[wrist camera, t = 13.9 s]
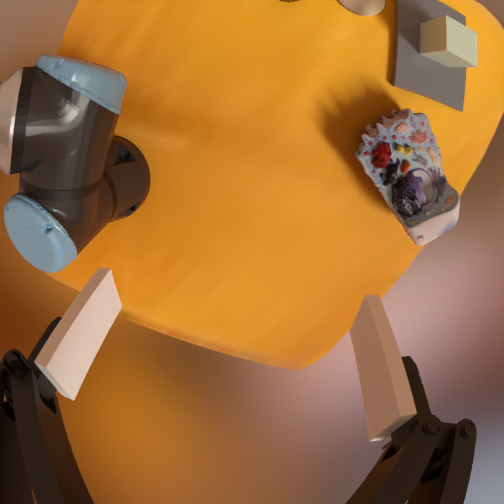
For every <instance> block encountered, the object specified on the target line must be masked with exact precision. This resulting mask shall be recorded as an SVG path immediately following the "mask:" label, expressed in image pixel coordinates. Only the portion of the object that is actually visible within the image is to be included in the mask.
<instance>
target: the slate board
mask: <svg viewBox="0 0 504 504" xmlns="http://www.w3.org/2000/svg"><path fill="white" fill-rule="evenodd" d="M445 15H447V16H448V17H450V18H452V19H454V20H456V21H457V22H459V23H461V24H463V25H464V26H466V20H465V16H464V15H462V14H461V13H459V12H457V11H456V10H454V9H452V8H450V7H448V6H447V5H445V4H443V3H441V2H439V1H437V0H395V52H394V67H393V79H392V86H395V87H398V88H401V89H404V90H407V91H410V92H413V93H416V94H419V95H421V96H424V97H427V98H429V99H432V100H434V101H437V102H439V103H442V104H444V105H446V106H449V107H451V108H453V109H455V110H457V111H461V112H462V111H463V103H464V93H465V81H466V67H447V66H445V65H443V64H441V63H439V62H437V61H434V60H432V59H430V58H428V57H425V56H423V55H421V54H420V23H423V22H426V21H429V20H432V19H435V18H438V17H441V16H445Z"/></svg>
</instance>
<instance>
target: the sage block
mask: <svg viewBox="0 0 504 504" xmlns="http://www.w3.org/2000/svg"><path fill="white" fill-rule="evenodd" d="M420 54H421V55H423V56H425V57H428V58H430V59H432V60H434V61H437V62H439V63H441V64H443V65H445V66H447V67H478V42H477V33H476V32H474V31H472V30H471V29H469V28H468V27H466V26H464V25H463V24H461V23H459V22H457V21H456V20H454V19H452V18H450V17H448V16H447V15H445V16H441V17H438V18H435V19H432V20H429V21H426V22H423V23H420Z"/></svg>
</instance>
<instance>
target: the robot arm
mask: <svg viewBox="0 0 504 504" xmlns="http://www.w3.org/2000/svg"><path fill="white" fill-rule="evenodd" d="M35 65H36V66H35V67H20V68H19V69H18V70H17V71H16V72H15V73H14V74H13V75H12V76H10V77H9V78H8V79H7V80H6V81H4V82H0V169H1V170H3V171H4V173H6V174H7V175H9V174H15V173H20V178H19V192H18V194H17V193H16V194H14V195H12V196H11V197H10V199H9V200H8V202H7V203H6V205H5V208H4V222H5V226H6V229H7V232H8V234H9V236H10V239H11V241H12V242H13V244H14V246H15V247H16V248H17V250H18V251H19V253H20V254H21V255H22V256H23V257H24V258H25V259H26V260H27V261H28V262H29V263H31V264H32V265H33V266H35V267H36V268H38V269H40V270H42V271H45V272H49V273H55V272H57V271H61V270H62V269H64V268H65V267H66V266H67V265H68V264H69V263H71V262H72V261H74V260H75V259H76V258H77V255H78V254H79V253H80V252H81V251H82V250H83V248H84V247H85V246H86V245H87V244H88V243H89V242H90V241H91V240H92V239H93V238H94V237H95V236H96V235H97V234H98V233H99V232H100V231H101V230H102V229H103V228H104V227H105V226H106V225H107V224H108V223H109V222H113V221H116V220H119V219H123V218H126V217H128V216H129V215H131V214H133V213H134V212H135V211H136V210H137V209H138V208H139V207H140V206H141V205H142V204H143V202H144V201H145V199H146V197H147V195H148V192H149V188H150V172H149V168H148V164H147V162H146V160H145V158H144V156H143V154H142V153H141V151H140V150H139V149H138V148H137V147H136V146H135V145H134V144H133V143H131V142H130V141H128V140H126V139H124V138H121V137H116V136H113V134H114V131H115V127H116V124H117V120H118V117H119V115H121V106H122V102H123V98H124V95H125V92H126V88H127V81H126V78H125V77H124V75H123V74H122V73H120V72H118V71H116V70H113V69H111V68H108V67H105V66H101V65H98V64H95V63H91V62H87V61H83V60H79V59H75V58H70V57H65V56H59V55H52V54H42V55H41V56H40V57H39V58H38V60H37V61H36V64H35ZM121 308H122V305H121V302H120V299H119V296H118V292H117V289H116V286H115V283H114V279H113V276H112V272H111V269H107V268H100V267H99V269H98V270H97V271H96V272H95V274H94V275H93V276H92V277H91V279H90V280H89V281H88V283H87V284H86V285H85V287H84V288H83V289H82V291H81V292H80V293H79V295H78V296H77V297H76V299H75V300H74V302H73V303H72V304H71V306H70V307H69V309H68V310H67V311H66V313H65V314H64V316H63V317H57V318H56V319H55V320H54V321H52V322H51V323H50V325H49V326H48V328H47V329H46V332H44V334H43V335H42V338H40V340H39V342H38V343H37V345H36V346H35V348H34V349H33V351H32V353H31V354H30V356H29V358H28V359H27V360H26V358H25V357H24V356H23V354H22V353H21V352H20V351H19V350H17V349H12V350H10V351H8V352H7V353H6V354H5V355H4V357H3V359H2V362H1V361H0V504H34V501H33V495H32V489H33V492H34V495H35V498H36V500H37V503H38V504H94V502H93V500H92V498H91V496H90V494H89V492H88V490H87V487H86V485H85V483H84V480H83V478H82V476H81V473H80V471H79V468H78V466H77V463H76V460H75V458H74V455H73V452H72V449H71V446H70V443H69V440H68V437H67V434H66V430H65V427H64V423H63V420H62V416H61V412H60V408H59V404H58V399H57V396H56V394H55V391H56V390H58V391H59V392H60V393H61V394H62V395H63V396H65V397H67V398H69V399H72V400H74V399H75V397H76V395H77V393H78V391H79V388H80V386H81V384H82V382H83V380H84V378H85V376H86V374H87V372H88V370H89V368H90V365H91V363H92V361H93V360H94V358H95V356H96V354H97V352H98V350H99V348H100V346H101V344H102V342H103V340H104V338H105V337H106V335H107V333H108V331H109V329H110V327H111V325H112V324H113V322H114V320H115V318H116V317H117V315H118V313H119V311H120V310H121ZM350 334H351V339H352V343H353V348H354V352H355V358H356V362H357V368H358V373H359V378H360V384H361V389H362V395H363V401H364V407H365V414H366V421H367V428H368V435H369V441H377V440H383V439H386V438H387V437H388V436H390V435H391V438H392V440H391V441H390V442H388V443H387V444H386V445H384V447H382V449H385V448H386V449H385V451H384V452H383V454H382V456H381V457H380V458H379V460H378V461H377V463H376V464H375V466H374V467H373V469H372V470H371V472H370V473H369V474H368V476H367V477H366V478H365V480H364V481H363V483H362V484H361V485H360V486H359V488H358V489H357V490H356V492H355V493H354V494H353V495H352V497H351V498H350V499H349V500H348V501H347V503H346V504H405V503H406V502H407V500H408V502H407V504H463V503H464V499H465V495H466V492H467V488H468V483H469V478H470V474H471V469H472V463H473V457H474V450H475V442H476V433H477V432H476V427H475V424H474V423H473V422H472V421H471V420H469V419H463V420H461V421H459V422H458V423H457V424H452V423H444V422H441V421H440V420H439V418H437V417H436V416H435V415H432V414H431V411H430V408H429V405H428V401H427V397H426V394H425V391H424V387H423V384H422V381H421V378H420V376H419V371H418V368H417V366H416V364H415V362H414V361H413V360H412V359H411V357H410V356H406V357H401V355H400V352H399V350H398V346H397V343H396V340H395V337H394V334H393V332H392V329H391V326H390V324H389V321H388V318H387V315H386V313H385V310H384V307H383V305H382V302H381V300H380V297H379V295H365V297H364V299H363V302H362V304H361V307H360V309H359V311H358V314H357V316H356V318H355V321H354V323H353V325H352V328H351V330H350ZM4 396H5V397H6V401H5V402H4V401H3V398H4ZM31 486H32V489H31ZM408 498H409V499H408Z"/></svg>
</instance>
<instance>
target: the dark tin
mask: <svg viewBox="0 0 504 504" xmlns="http://www.w3.org/2000/svg"><path fill="white" fill-rule="evenodd" d="M280 1H283V2H295V1H299V0H280Z"/></svg>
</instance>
